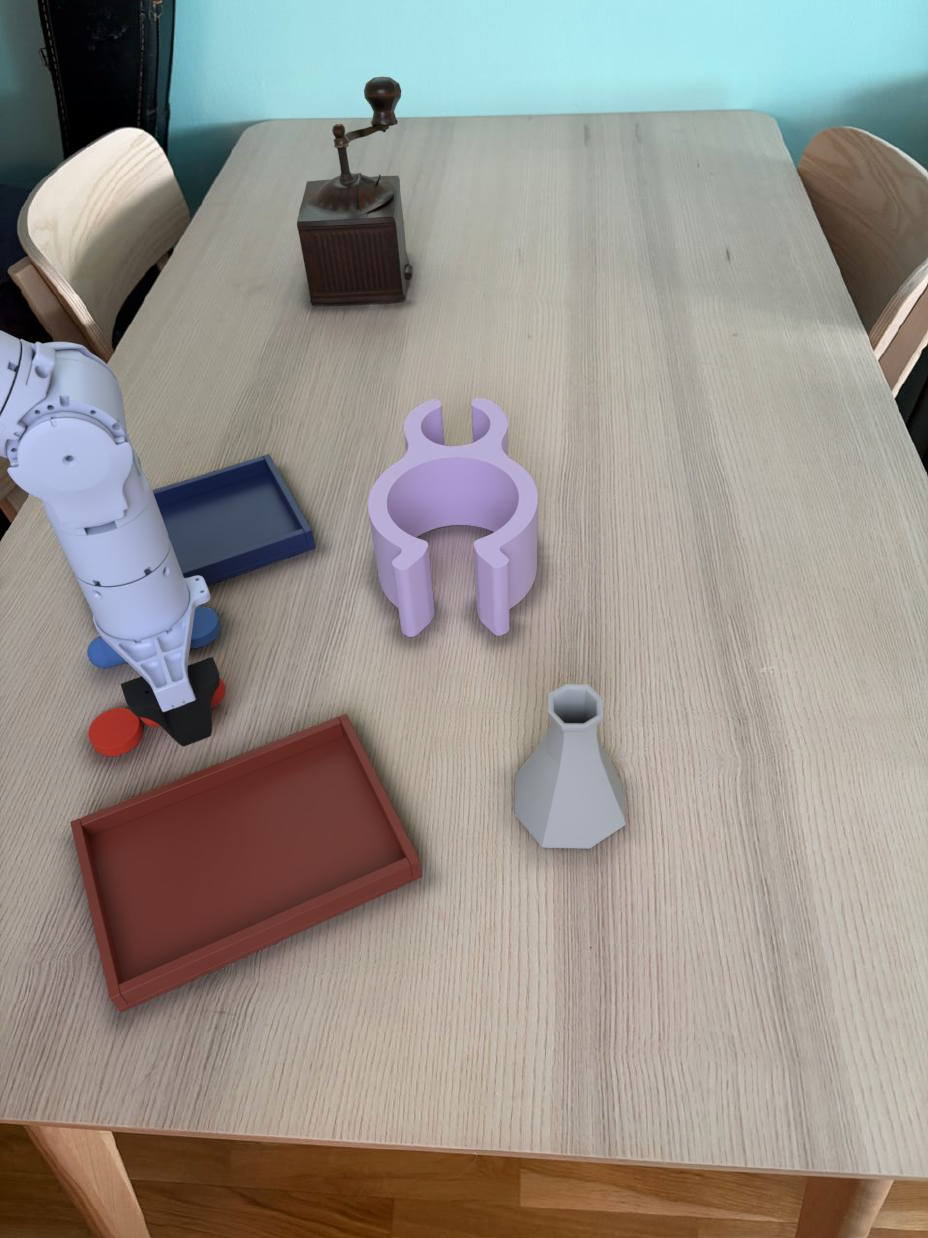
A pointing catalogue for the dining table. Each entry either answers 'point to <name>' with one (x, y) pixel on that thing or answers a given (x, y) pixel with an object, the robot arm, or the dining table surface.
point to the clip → (455, 515)
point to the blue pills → (202, 634)
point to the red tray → (237, 859)
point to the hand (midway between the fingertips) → (181, 697)
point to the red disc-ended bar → (126, 728)
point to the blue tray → (233, 520)
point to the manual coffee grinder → (356, 222)
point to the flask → (570, 776)
